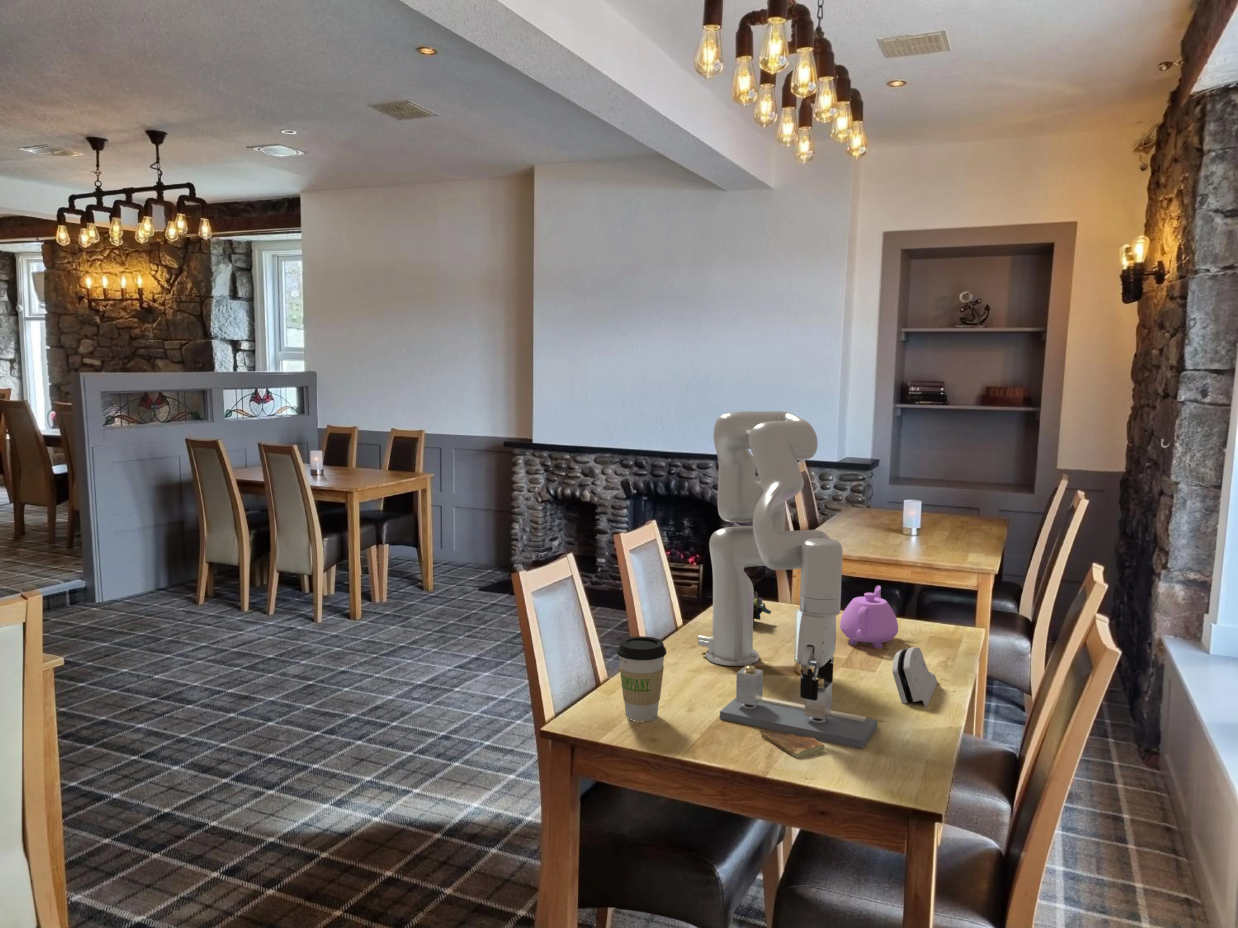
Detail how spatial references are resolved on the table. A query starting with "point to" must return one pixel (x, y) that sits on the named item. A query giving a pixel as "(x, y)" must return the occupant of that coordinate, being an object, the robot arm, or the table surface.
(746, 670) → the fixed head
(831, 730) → the hole plate
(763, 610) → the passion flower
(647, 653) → the coffee cup
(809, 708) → the block
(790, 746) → the shard
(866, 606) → the teapot
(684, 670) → the table surface
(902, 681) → the grey layered slab
